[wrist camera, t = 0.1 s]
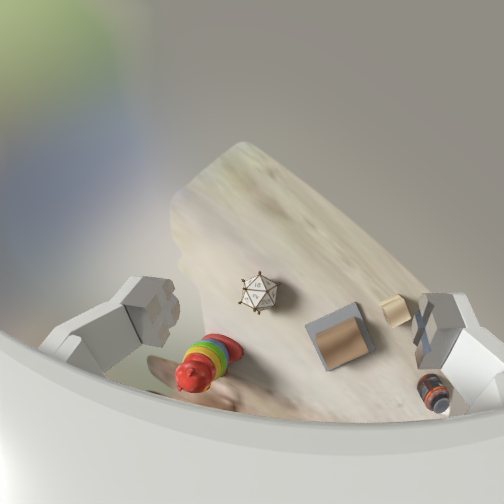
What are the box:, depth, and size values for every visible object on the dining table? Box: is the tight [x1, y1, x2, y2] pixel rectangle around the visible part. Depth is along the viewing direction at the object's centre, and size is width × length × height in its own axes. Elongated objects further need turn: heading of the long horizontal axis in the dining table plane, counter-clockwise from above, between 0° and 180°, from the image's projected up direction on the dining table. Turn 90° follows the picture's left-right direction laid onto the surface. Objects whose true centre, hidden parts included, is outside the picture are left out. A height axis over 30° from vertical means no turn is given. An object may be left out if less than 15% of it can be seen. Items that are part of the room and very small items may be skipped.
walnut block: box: [315, 316, 369, 369], centre depth 58 cm, size 7×9×5 cm
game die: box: [238, 271, 281, 315], centre depth 61 cm, size 9×8×10 cm
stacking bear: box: [175, 334, 243, 393], centre depth 60 cm, size 11×10×18 cm
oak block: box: [379, 294, 411, 329], centre depth 56 cm, size 4×4×6 cm
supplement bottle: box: [417, 374, 449, 413], centre depth 51 cm, size 6×6×11 cm
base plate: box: [305, 302, 375, 372], centre depth 61 cm, size 12×12×1 cm
